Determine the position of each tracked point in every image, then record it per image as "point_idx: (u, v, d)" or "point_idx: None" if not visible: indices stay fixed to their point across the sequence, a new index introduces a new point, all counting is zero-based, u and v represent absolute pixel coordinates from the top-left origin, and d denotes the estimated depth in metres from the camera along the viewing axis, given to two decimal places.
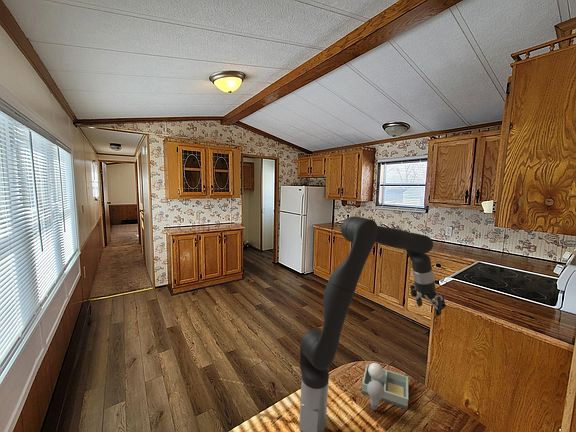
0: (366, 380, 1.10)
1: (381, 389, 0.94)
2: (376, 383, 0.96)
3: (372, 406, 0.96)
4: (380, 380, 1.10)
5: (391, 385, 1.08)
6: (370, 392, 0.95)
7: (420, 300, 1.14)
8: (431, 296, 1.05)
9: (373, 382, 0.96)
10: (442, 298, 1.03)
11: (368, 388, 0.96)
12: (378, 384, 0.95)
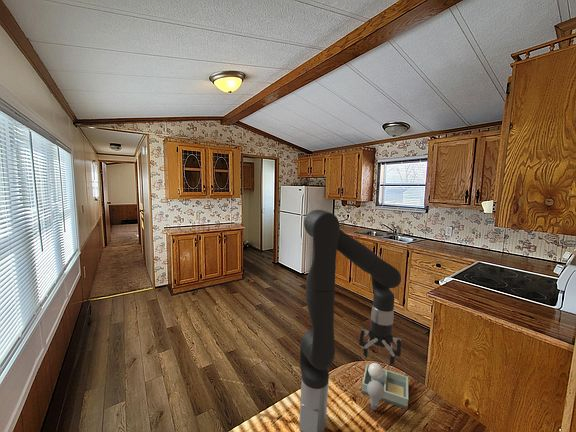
0: (366, 380, 1.10)
1: (381, 389, 0.94)
2: (376, 383, 0.96)
3: (372, 406, 0.96)
4: (380, 380, 1.10)
5: (391, 385, 1.08)
6: (370, 392, 0.95)
7: (367, 349, 0.96)
8: (389, 340, 0.91)
9: (373, 382, 0.96)
10: None
11: (368, 388, 0.96)
12: (378, 384, 0.95)
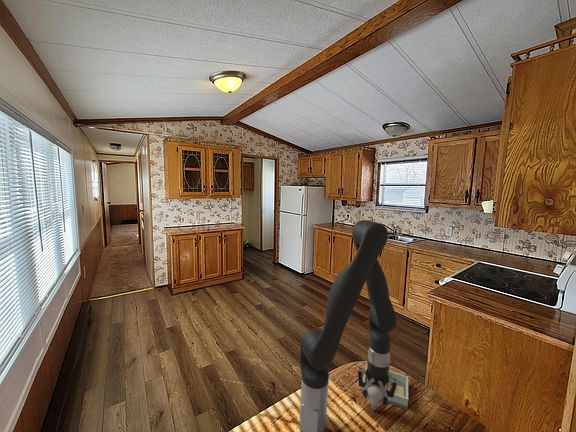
0: (366, 380, 1.10)
1: None
2: None
3: (372, 406, 0.96)
4: None
5: None
6: (370, 392, 0.95)
7: None
8: (385, 382, 0.94)
9: None
10: None
11: (368, 388, 0.96)
12: None
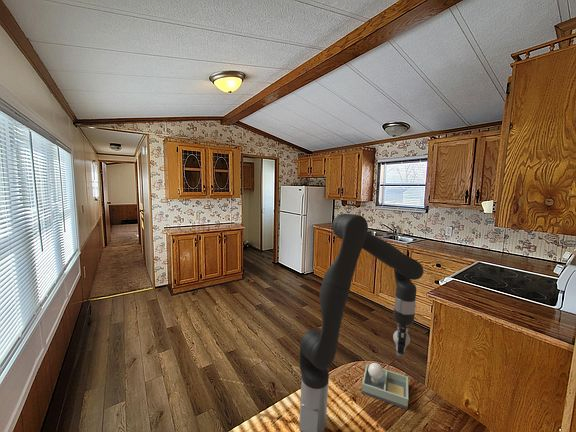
0: (366, 380, 1.10)
1: None
2: None
3: None
4: (380, 380, 1.10)
5: (391, 385, 1.08)
6: None
7: None
8: (399, 329, 0.99)
9: None
10: (403, 336, 0.95)
11: None
12: None
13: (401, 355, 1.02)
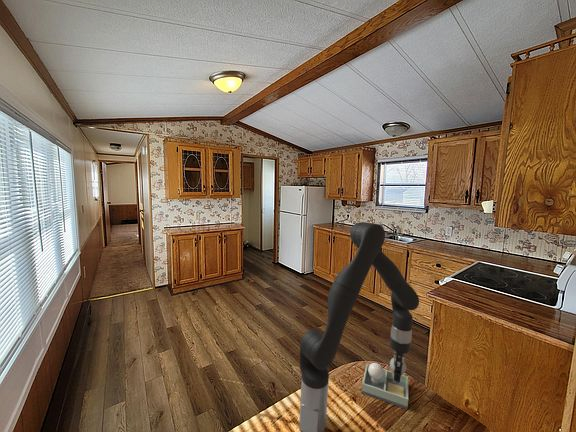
0: (366, 380, 1.10)
1: None
2: None
3: None
4: (380, 380, 1.10)
5: (391, 385, 1.08)
6: None
7: None
8: (395, 358, 1.01)
9: None
10: (399, 365, 0.97)
11: None
12: None
13: (397, 382, 1.04)
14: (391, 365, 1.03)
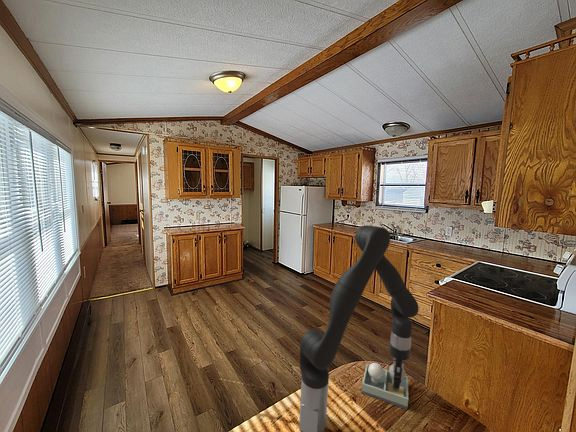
0: (366, 380, 1.10)
1: None
2: None
3: None
4: (380, 380, 1.10)
5: (391, 385, 1.08)
6: None
7: None
8: (395, 363, 1.01)
9: None
10: (399, 370, 0.97)
11: None
12: None
13: (397, 389, 1.04)
14: (390, 372, 1.04)
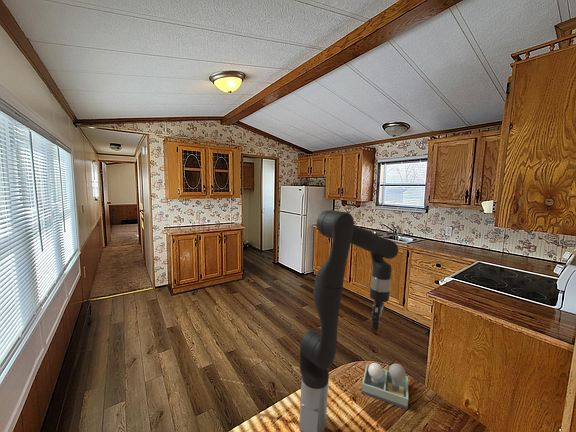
0: (366, 380, 1.10)
1: (394, 370, 1.03)
2: (397, 365, 1.04)
3: None
4: (380, 380, 1.10)
5: (391, 385, 1.08)
6: None
7: None
8: (374, 305, 1.04)
9: (397, 364, 1.05)
10: (377, 310, 1.00)
11: None
12: (396, 366, 1.03)
13: (397, 389, 1.04)
14: (390, 372, 1.04)
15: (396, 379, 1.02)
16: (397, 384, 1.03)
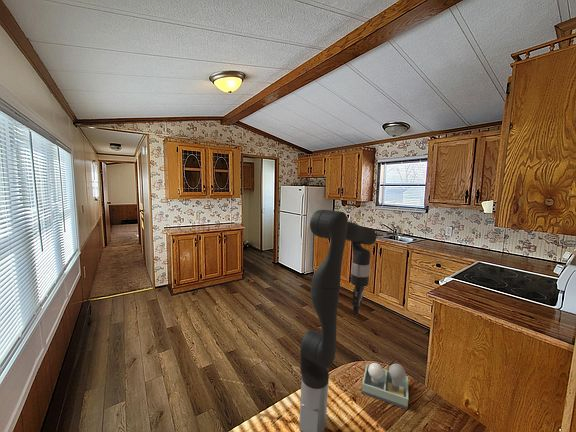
0: (366, 380, 1.10)
1: (394, 370, 1.03)
2: (397, 365, 1.04)
3: None
4: (380, 380, 1.10)
5: (391, 385, 1.08)
6: None
7: None
8: (355, 290, 1.09)
9: (397, 364, 1.05)
10: (357, 294, 1.05)
11: None
12: (396, 366, 1.03)
13: (397, 389, 1.04)
14: (390, 372, 1.04)
15: (396, 379, 1.02)
16: (397, 384, 1.03)
